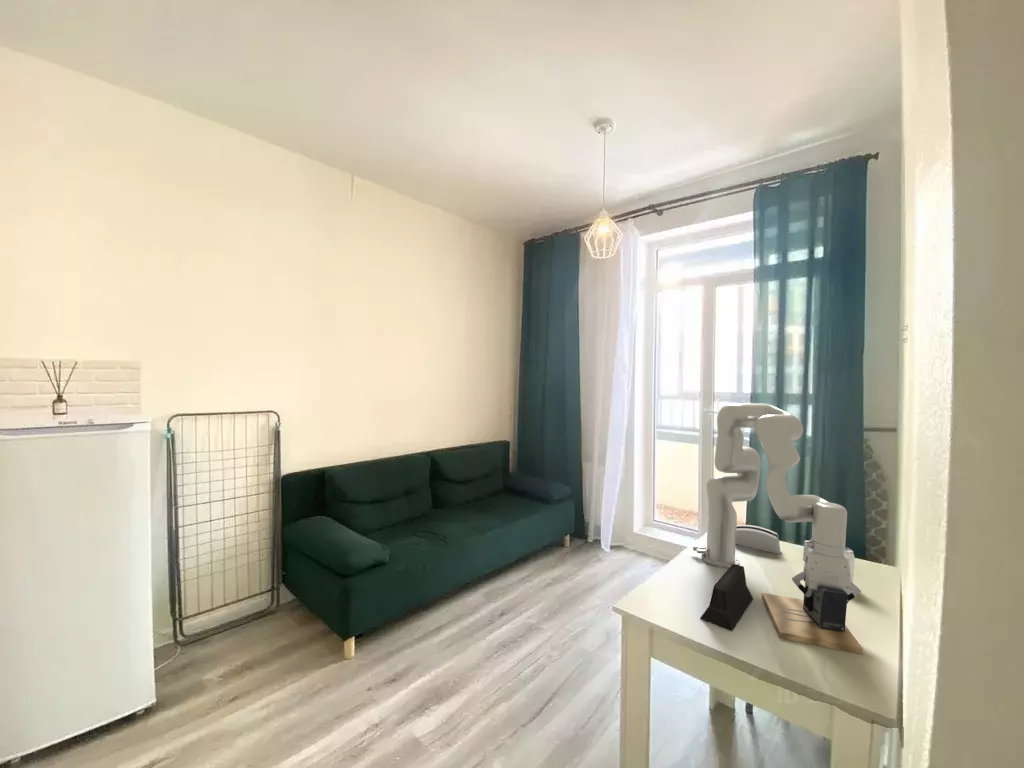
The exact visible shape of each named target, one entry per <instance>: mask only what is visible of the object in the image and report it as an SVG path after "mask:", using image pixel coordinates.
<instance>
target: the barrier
mask: <svg viewBox="0 0 1024 768" xmlns="http://www.w3.org/2000/svg"><path fill="white" fill-rule="evenodd" d="M753 600H754V597H753V595H752V593H751V591H750V590H749V588H748V585H747V579H746V572H745V566H743V565H740V564H739V565H736V564H732V566H731V567H730V568H727V570H726V571H725V572H724V573H723V574H722V576H721V577H720V578H719V579H718V580H717V581H716V582H715V584H713V588H712V592H711V596H710V601H709V604H708V606H707V607H706V609H705V611H704V612H703V614H702V615H701V616H700V620H701V621H704V622H706V623H710V624H711V625H714V626H717V627H719V628H722V629H724V630H727V631H730V632H734V630H735V628H736V627H737V625H738V624H739V622H740V620H741V619H742V618H743V616H744V615H745V613H746V611H747V610H748V608H749V607H750V605H751V603H752V602H753Z"/></svg>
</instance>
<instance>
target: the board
mask: <svg viewBox="0 0 1024 768" xmlns="http://www.w3.org/2000/svg"><path fill="white" fill-rule="evenodd" d="M761 600H762V601H763V603H764V606H765V608H766V611H767V612H768V614H769V617H770V619H771V621H772V623H773V626H774V628H775V631H776V633H777V634H778V637H779V638H780V639H785V640H789V641H794V642H799V643H805V644H809V645H813V646H814V645H815V646H820V647H823V648H830V649H835V650H838V651H843V652H849V653H854V654H858V655H863V653H864V652H863V651H864V649H863V647H862V646H861V644H860V642H859V641H858V640H857V638H856V637H855V636H854V635H853V633H852V632H851V630H850V628H849V627H848V626H847V625H846V624H845V632H844V631H837V630H830V629H824V628H819V627H818V625H817V624H816V623H815V622H814V621H813V620H812V618H811V617H810V616H809V615H808V614H807V613H806V611H805V610H804V609H803V602H804V599H801V598H800V599H799V598H795V597H789V596H783V595H779V594H772V593H766V592H761Z"/></svg>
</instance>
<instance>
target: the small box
mask: <svg viewBox="0 0 1024 768" xmlns="http://www.w3.org/2000/svg"><path fill="white" fill-rule="evenodd" d="M805 585H806V582H804V586H805ZM847 596H848V594H847V593H846V592H845V591H844V590H840V589H835V588H830V587H824V586H818V589H817V591H815V590H814V592H813V593H812V594H811V597H812V612H808V610H807V608H806V607H805V606H804V602H803V609H804V610H805V611H806V613H807V614H808V615H809V616H810V617H811V618H812V620H813V621H814V622H815V623H816V624H817V625H818V627H819V628H824V629H830V630H837V631H844V632H845V625H846V621H847V620H846V619H847V618H846V617H847V608H848V607H847V606H848V604H847Z"/></svg>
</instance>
